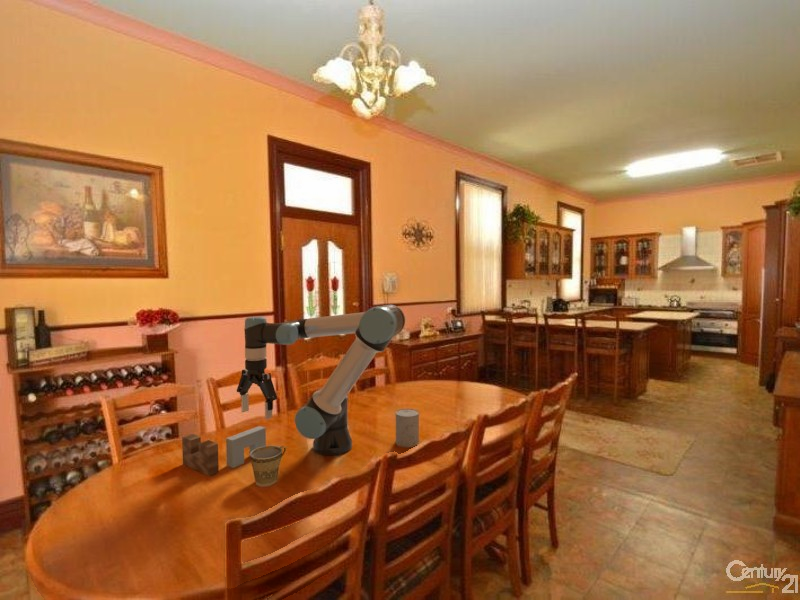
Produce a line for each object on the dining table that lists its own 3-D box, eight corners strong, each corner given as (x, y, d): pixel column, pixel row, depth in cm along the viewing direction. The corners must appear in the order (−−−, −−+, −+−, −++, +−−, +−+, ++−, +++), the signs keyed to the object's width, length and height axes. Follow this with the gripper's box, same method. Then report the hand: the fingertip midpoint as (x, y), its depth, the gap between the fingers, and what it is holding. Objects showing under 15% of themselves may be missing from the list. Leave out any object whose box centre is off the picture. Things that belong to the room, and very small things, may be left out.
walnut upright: (218, 472, 137) (217, 443, 136) (209, 476, 134) (208, 447, 133) (192, 460, 145) (191, 433, 145) (182, 464, 142) (182, 436, 142)
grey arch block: (265, 453, 151) (265, 427, 150) (232, 468, 139) (232, 440, 139) (259, 451, 153) (259, 425, 152) (226, 465, 141) (226, 438, 141)
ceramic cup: (264, 493, 123) (263, 461, 123) (243, 484, 129) (243, 453, 128) (296, 475, 134) (295, 446, 134) (275, 467, 140) (275, 439, 139)
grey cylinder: (422, 440, 164) (422, 410, 163) (413, 449, 155) (413, 418, 155) (401, 436, 168) (401, 407, 167) (391, 444, 159) (391, 414, 159)
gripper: (286, 360, 144) (287, 418, 146) (243, 353, 158) (244, 406, 159) (270, 364, 138) (270, 424, 139) (226, 356, 152) (227, 411, 153)
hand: (256, 414), depth 149 cm, fingers open, 13 cm apart
